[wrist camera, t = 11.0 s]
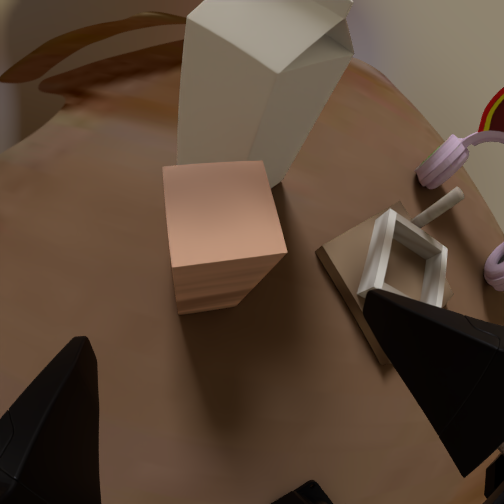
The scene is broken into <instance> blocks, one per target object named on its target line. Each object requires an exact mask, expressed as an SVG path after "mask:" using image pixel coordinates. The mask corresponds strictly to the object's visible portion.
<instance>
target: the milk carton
mask: <svg viewBox="0 0 504 504" xmlns="http://www.w3.org/2000/svg"><path fill="white" fill-rule="evenodd" d="M352 5H353V1H352V0H204V2H202V3H201V4H200V5H199V6H198V7H197V8H195V9H194V10H193V11H192V12H191V13H190V14H189V15H188V16H187V21H186V30H185V38H184V48H183V58H182V69H181V81H180V96H179V113H178V136H177V165H186V164H199V163H214V162H232V161H260V160H263V163H264V167H265V170H266V174H267V178H268V181H269V185H270V188H272V187H274V186H275V185H277V184H278V183H279V182H281V181H282V180H283V179H284V177H285V175H286V173H287V171H288V170H289V168H290V166H291V164H292V163H293V161H294V159H295V157H296V155H297V154H298V152H299V150H300V148H301V147H302V145H303V143H304V141H305V139H306V138H307V136H308V134H309V132H310V131H311V129H312V127H313V125H314V123H315V122H316V120H317V118H318V116H319V115H320V113H321V111H322V109H323V108H324V106H325V104H326V102H327V101H328V99H329V97H330V95H331V94H332V92H333V90H334V88H335V87H336V85H337V83H338V81H339V80H340V78H341V76H342V74H343V73H344V71H345V69H346V67H347V66H348V64H349V62H350V60H351V58H352V56H353V55H354V50H353V46H352V41H351V37H350V33H349V29H348V25H347V21H346V16H347V15H348V12H349V11H350V9H351V7H352Z"/></svg>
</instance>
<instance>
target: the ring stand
mask: <svg viewBox="0 0 504 504" xmlns="http://www.w3.org/2000/svg"><path fill="white" fill-rule="evenodd" d="M463 199H464V194H463V192H462V190H461V189H460V188H459V187H456V188H454V189H453V190H452V191H450V192H449V193H448V194H446V195H445V196H444V197H442V198H441V199H440V200H438V201H437V202H436V203H434V204H433V205H432V206H430V207H429V208H427V209H426V210H425V211H423V212H422V213H420V214H419V215H418V216H416V217H415V218H413V219H412V218H411V217H410V215H409V214H408V212H407V211H406V209H405V208H404V206H403V205H402V203H401V201H398V202H397V203H395V204H393V205H392V206H390V207H388V208H386V209H385V210H383V211H381V212H380V213H378V214H376V215H374V216H373V217H371V218H369V219H368V220H366V221H364V222H362V223H361V224H359V225H357V226H355V227H354V228H352V229H350V230H348V231H347V232H345V233H343V234H341V235H340V236H338V237H336V238H334V239H333V240H331V241H329V242H327V243H326V244H324V245H322V246H321V247H320V248H319V249H317V250H316V251H315V252H316V254H317V256H318V257H319V259H320V260H321V262H322V264H323V265H324V267H325V269H326V270H327V272H328V274H329V275H330V277H331V278H332V280H333V282H334V283H335V285H336V287H337V288H338V290H339V292H340V293H341V295H342V297H343V299H344V300H345V302H346V304H347V305H348V307H349V309H350V311H351V312H352V314H353V316H354V317H355V319H356V321H357V323H358V324H359V326H360V328H361V330H362V331H363V333H364V335H365V337H366V339H367V340H368V342H369V344H370V346H371V348H372V349H373V351H374V353H375V355H376V357H377V358H378V360H379V362H380V364H391V362H390V361H389V359H388V358H387V356H386V355H385V353H384V352H383V350H382V349H381V347H380V345H379V343H378V342H377V340H376V338H375V336H374V334H373V333H372V331H371V329H370V327H369V325H368V324H367V322H366V320H365V318H364V316H363V306H364V302H365V298H366V294H367V292H368V291H369V290H372V289H376V288H379V289H382V290H386V291H389V292H392V293H395V294H398V295H402V296H405V297H408V298H411V299H414V300H418V301H421V302H424V303H427V304H430V305H434V306H437V307H440V308H443V307H444V306H445V305H446V303H447V302H448V301H449V300H450V298H451V297H452V296H453V295H454V294H453V292H452V290H451V288H450V286H449V284H448V282H447V280H446V278H445V275H446V264H447V250H448V249H447V248H446V247H445V246H443V245H442V244H441V243H439V242H438V241H437V240H435V239H434V238H433V237H431V236H430V235H428V234H427V233H426V232H424V231H423V230H421V229H420V228H422V227H423V226H425V225H426V224H428V223H429V222H431V221H432V220H434V219H435V218H437V217H438V216H440V215H441V214H443V213H444V212H445V211H447V210H448V209H450V208H451V207H453V206H454V205H456V204H457V203H458V202H460V201H461V200H463Z"/></svg>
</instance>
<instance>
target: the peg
mask: <svg viewBox="0 0 504 504" xmlns="http://www.w3.org/2000/svg"><path fill="white" fill-rule="evenodd" d="M163 184H164V198H165V211H166V222H167V232H168V242H169V251H170V260H171V268H172V275H173V283H174V289H175V296H176V303H177V309H178V315H183V314H190V313H197V312H204V311H210V310H217V309H223V308H229V307H235V306H236V305H237V304H238V303H239V302H240V301H241V300H242V299H243V298H244V297H245V296H246V295H247V294H248V293H249V292H250V291H251V290H252V289H253V288H254V287H255V286H256V285H257V284H258V283H259V282H260V281H261V280H262V279H263V278H264V277H265V276H266V275H267V273H268V272H269V271H270V270H271V269H272V268H273V267H274V266H275V265H276V264H277V263H278V262H279V261H280V260H281V259H282V258H283V257H284V256H285V255H286V254H287V253H288V252H287V248H286V245H285V241H284V237H283V233H282V229H281V225H280V222H279V218H278V214H277V210H276V207H275V203H274V199H273V196H272V192H271V188H270V185H269V181H268V178H267V174H266V170H265V167H264V163H263V160H260V161H232V162H214V163H199V164H186V165H175V166H164V167H163Z"/></svg>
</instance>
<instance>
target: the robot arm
mask: <svg viewBox="0 0 504 504" xmlns="http://www.w3.org/2000/svg"><path fill="white" fill-rule="evenodd" d="M363 316H364V318H365V320H366V322H367V324H368V325H369V327H370V329H371V331H372V333H373V334H374V336H375V338H376V340H377V342H378V343H379V345H380V347H381V349H382V350H383V352H384V353H385V355H386V356H387V358H388V359H389V361H390V362H391V363H392V365H393V366H394V368H395V369H396V371H397V372H398V374H399V375H400V377H401V378H402V380H403V381H404V383H405V384H406V386H407V387H408V389H409V390H410V392H411V393H412V395H413V396H414V398H415V400H416V401H417V403H418V404H419V406H420V407H421V409H422V410H423V412H424V414H425V415H426V417H427V418H428V420H429V421H430V423H431V425H432V426H433V428H434V429H435V431H436V433H437V434H438V436H439V438H440V440H441V441H442V443H443V444H444V446H445V448H446V449H447V451H448V453H449V455H450V456H451V458H452V460H453V461H454V463H455V465H456V466H457V468H458V470H459V472H460V473H461V475H462V476H463V477H464V478H465V477H466V476H467V475H468V474H470V473H471V472H472V471H473V470H474V469H476V468H477V467H478V466H479V465H480V464H481V463H482V462H483V461H484V460H486V459H487V458H488V457H489V456H490V455H491V454H492V453H493V452H494V451H495V450H496V449H498V450H499V451H500V452H501V453H500V454H499V455H498V457H497V458H496V459H495V460H494V461H493V462H492V463H491V464H490V465H489V466H488V467H487V468H486V479H485V491H484V495H485V497H486V498H487V500H486V501H485V502H484V503H483V504H504V326H501V325H497V324H493V323H489V322H485V321H482V320H479V319H475V318H472V317H469V316H466V315H465V316H464V315H462V314H459V313H456V312H453V311H450V310H446V309H443V308H440V307H437V306H434V305H430V304H427V303H424V302H421V301H418V300H414V299H411V298H408V297H405V296H402V295H398V294H395V293H392V292H389V291H386V290H382V289H379V288H376V289H372V290H369V291H368V292H367V294H366V298H365V302H364V306H363ZM311 484H313V486H312V487H310V485H311ZM0 504H101V494H100V479H99V394H98V370H97V359H96V356H95V353H94V351H93V349H92V346H91V343H90V341H89V339H88V337H86V336H78V337H74V338H72V340H71V341H70V342H69V343H68V344H67V345H66V346H65V347H64V348H63V349H62V350H61V351H60V352H59V353H58V354H57V355H56V356H55V357H54V358H53V359H52V361H51V362H50V363H49V364H48V365H47V366H46V367H45V368H44V369H43V370H42V371H41V372H40V374H39V375H38V376H37V377H36V378H35V379H34V380H33V381H32V382H31V384H30V385H29V386H28V387H27V388H26V389H25V390H24V392H23V393H22V394H21V395H20V396H19V397H18V398H17V400H16V401H15V402H14V403H13V404H12V405H11V407H10V408H9V410H7V411H6V413H5V414H4V415H3V416H2V417H1V419H0ZM271 504H333V503H332V501H331V500H330V499H329V498H328V496H327V495H326V494H325V492H324V491H323V490H322V489H321V487H320V486H319V485H318V483H317V482H315V481H314V480H310V481H308V482H306V483H305V484H303V485H302V486H300V487H299V488H297V489H295V490H294V491H291V492H289V493H288V494H286V495H284V496H283V497H281V498H279V499H278V500H276V501H274V502H273V503H271Z"/></svg>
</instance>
